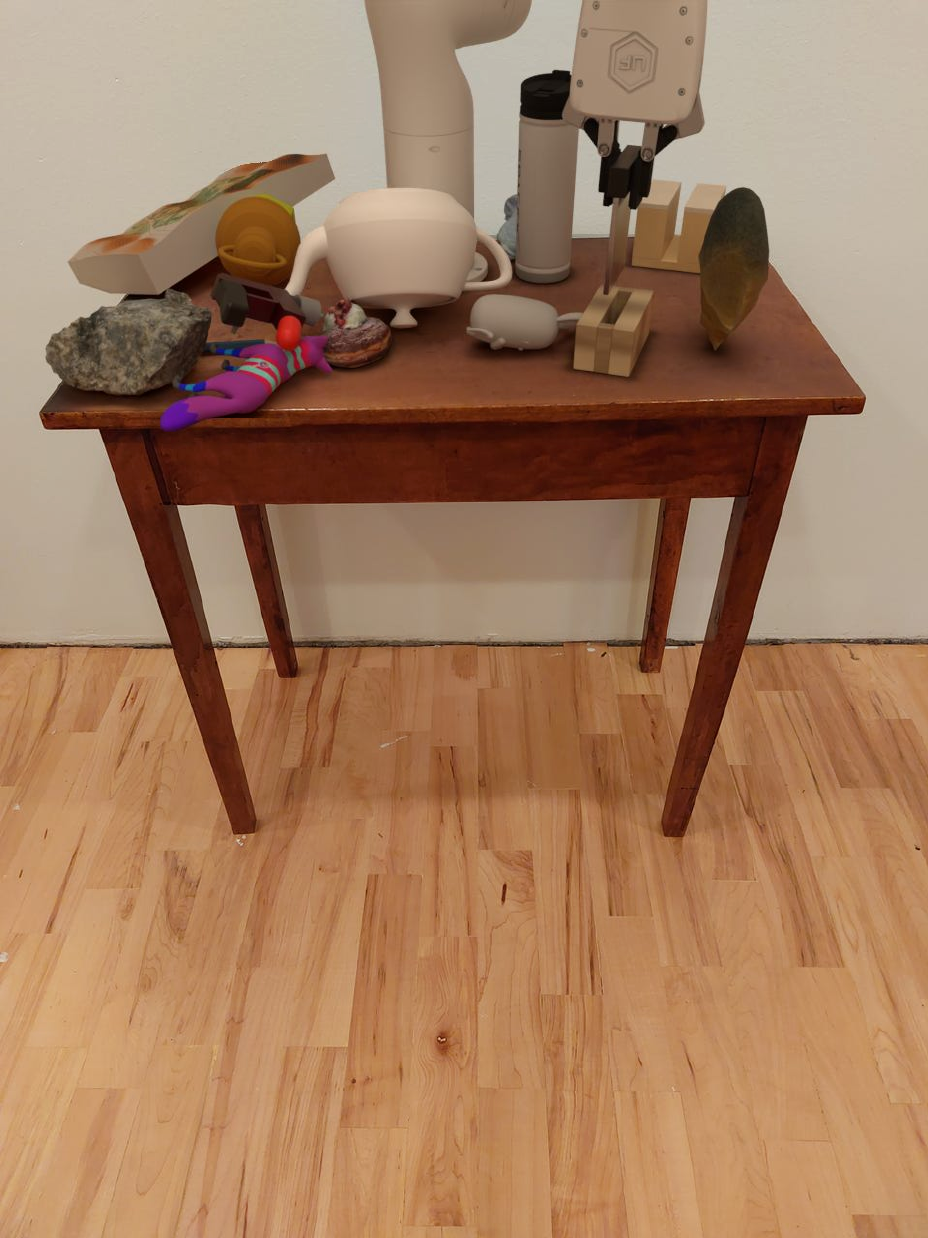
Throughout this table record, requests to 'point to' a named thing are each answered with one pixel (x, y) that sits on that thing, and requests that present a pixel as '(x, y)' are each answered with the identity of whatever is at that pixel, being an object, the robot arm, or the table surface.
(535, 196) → the travel mug
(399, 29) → the robot arm
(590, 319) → the knife block
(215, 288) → the toy gun
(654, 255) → the u-shaped wooden stand
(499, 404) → the table surface
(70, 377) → the rock
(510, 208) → the figurine
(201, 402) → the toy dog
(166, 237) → the topographic model
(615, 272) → the knife
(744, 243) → the decorative stone
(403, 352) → the table surface
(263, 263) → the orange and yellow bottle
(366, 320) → the pastry
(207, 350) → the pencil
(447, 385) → the table surface
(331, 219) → the teapot
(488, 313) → the rabbit figurine
